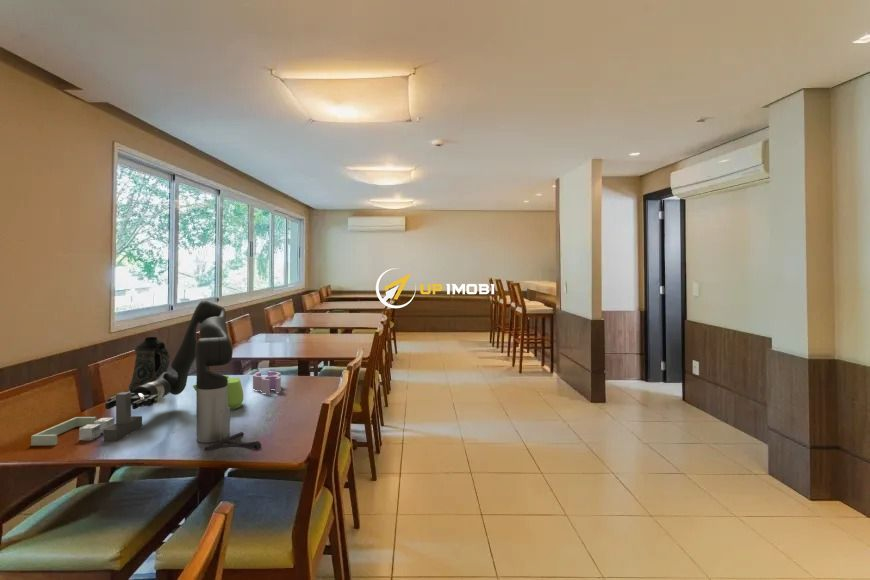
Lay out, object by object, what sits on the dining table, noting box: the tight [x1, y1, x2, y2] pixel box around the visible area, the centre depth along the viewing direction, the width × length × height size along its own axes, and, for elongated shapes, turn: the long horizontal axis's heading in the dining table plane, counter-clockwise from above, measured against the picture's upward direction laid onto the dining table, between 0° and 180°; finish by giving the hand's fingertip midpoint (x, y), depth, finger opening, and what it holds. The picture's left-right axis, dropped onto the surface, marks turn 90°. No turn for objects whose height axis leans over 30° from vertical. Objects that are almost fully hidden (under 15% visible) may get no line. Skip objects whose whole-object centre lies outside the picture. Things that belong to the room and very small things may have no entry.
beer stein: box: [128, 336, 171, 392], centre depth 206 cm, size 16×19×25 cm
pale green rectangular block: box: [30, 416, 98, 446], centre depth 149 cm, size 7×19×3 cm, turn 4°
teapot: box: [192, 374, 244, 411], centre depth 182 cm, size 18×20×13 cm
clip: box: [252, 370, 282, 395], centre depth 212 cm, size 20×12×7 cm, turn 33°
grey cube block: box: [78, 424, 102, 441], centre depth 146 cm, size 4×4×4 cm
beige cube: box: [94, 417, 115, 434], centre depth 153 cm, size 4×4×4 cm
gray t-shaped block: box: [103, 391, 143, 443], centre depth 150 cm, size 4×14×14 cm, turn 4°
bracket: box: [204, 431, 262, 451], centre depth 142 cm, size 14×15×3 cm
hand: (120, 406), depth 148 cm, fingers open, 8 cm apart
